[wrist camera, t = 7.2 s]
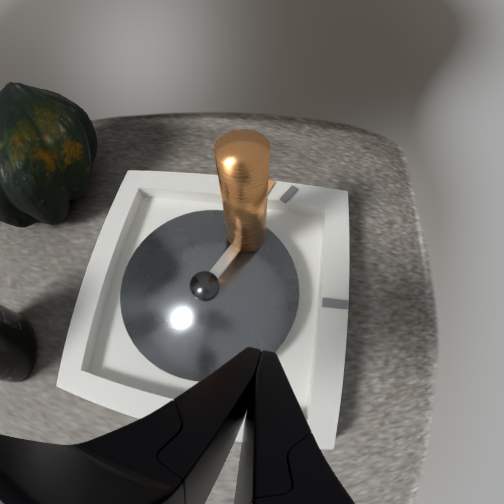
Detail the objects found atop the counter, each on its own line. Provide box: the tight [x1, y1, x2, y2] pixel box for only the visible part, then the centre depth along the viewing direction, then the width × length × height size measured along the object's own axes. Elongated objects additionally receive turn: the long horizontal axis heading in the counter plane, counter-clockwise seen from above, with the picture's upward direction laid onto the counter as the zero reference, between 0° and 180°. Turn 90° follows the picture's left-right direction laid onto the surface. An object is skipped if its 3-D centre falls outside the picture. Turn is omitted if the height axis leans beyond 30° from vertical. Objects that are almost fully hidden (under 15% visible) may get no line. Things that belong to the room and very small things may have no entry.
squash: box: [0, 82, 97, 227], centre depth 23 cm, size 14×15×15 cm
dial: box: [120, 129, 299, 382], centre depth 17 cm, size 13×13×10 cm
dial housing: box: [57, 170, 349, 449], centre depth 21 cm, size 20×20×3 cm
